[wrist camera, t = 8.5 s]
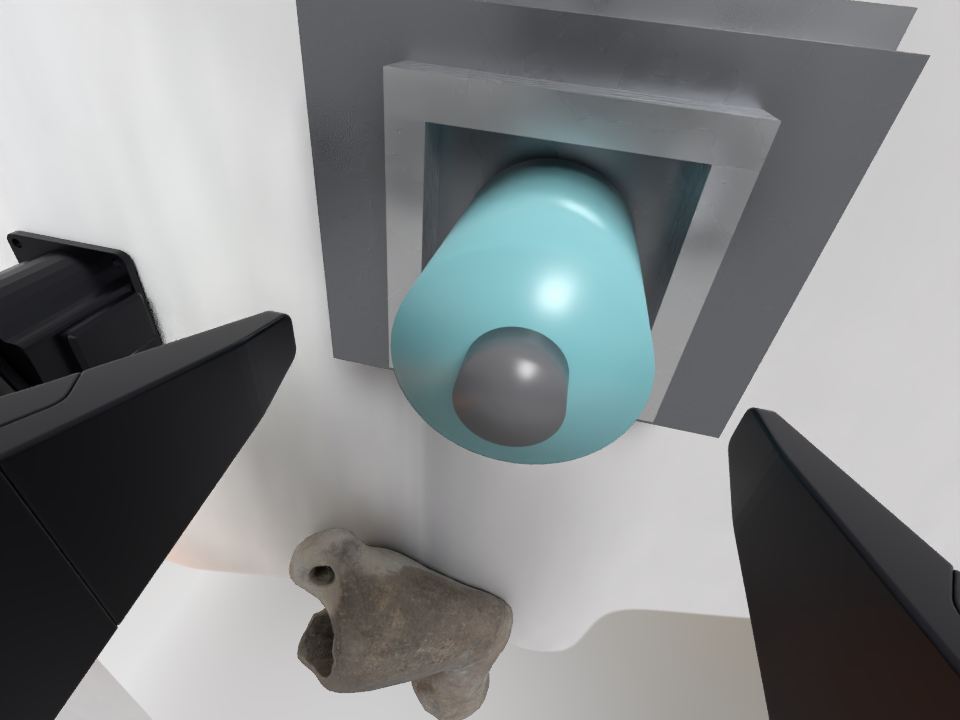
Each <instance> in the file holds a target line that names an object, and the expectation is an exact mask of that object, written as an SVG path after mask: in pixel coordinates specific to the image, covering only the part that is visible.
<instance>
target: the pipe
mask: <svg viewBox="0 0 960 720" xmlns="http://www.w3.org/2000/svg"><path fill="white" fill-rule="evenodd" d="M289 573H290V578H291V579H292V580H293V581H294V583H295V584H296V585H298V586H300V587H301V588H303V589H305V590H306V591H308V592H309V593H311V594H312V595H314V596H315V597H317V598H318V599H319V600H320V601H321V603H322V604H323V605H324V607H325V609H323V610H322V611H320V612H318V613H315V614H314V615H313V616H312V618H311V620H310V622H309V624H308V627H307V629H306V631H305V632H304V634H303V636H302V638H301V641H300V643H299V646H298V652H297V654H298V659H299V660H300V661H301V662H302V663H303V664H304V665H305V666H307V667H308V668H309V669H310V670H311V671H312V672H313V673H314V674H315V675H316V677H317V678H318V680H319V681H320V683H321V684H322V685H323V686H324V687H325V688H326V689H328V690H329V691H334V692H338V693H355V692H365V691H372V690H376V689H380V688H384V687H388V686H392V685H397V684H400V683H405V682H409V681H412V686H413V689H414V691H415V693H416V695H417V697H418V699H419V701H420V703H421V704H422V706H423V707H424V709H425V711H427V712H429V713H430V714H432V715H433V716H435V717H436V718H437V719H438V720H462V719H465V718H467V717H468V716H470V715H472V714H473V713H474V712H475V711H476V710H477V709H479V708H480V706H481V704H482V703H483V701H484V700H485V697H486V694H487V691H488V688H489V671H490V669H491V667H492V665H493V663H494V662H495V661H496V659H497V657H498V656H499V654H500V653H501V652H502V651H503V649H504V648H505V646H506V644H507V642H508V639H509V637H510V633H511V627H512V623H513V613H512V610H511V607H510V606H509V605H508V604H507V603H506V602H505V601H503V600H502V599H500V598H498V597H496V596H494V595H492V594H490V593H487V592H484V591H481V590H478V589H475V588H472V587H469V586H466V585H463V584H461V583H459V582H457V581H455V580H453V579H451V578H449V577H446V576H444V575H441V574H439V573H437V572H435V571H433V570H430V569H428V568H426V567H425V566H423V565H421V564H419V563H418V562H416V561H414V560H412V559H410V558H408V557H406V556H404V555H402V554H400V553H398V552H395V551H393V550H390V549H386V548H380V547H371V546H368V545H365V544H364V543H363V542H362V541H361V540H360V539H359V538H358V537H357V536H356V535H355V534H353V533H352V532H350V531H347V530H344V529H338V528H335V529H328V530H324V531H321V532H318V533H316V534H313V535H311V536H309V537H308V538H306V539H305V540H304V541H303V542H301V543H300V544H299V545H298V546H297V548H296V549H295V551H294V553H293V556H292V559H291V562H290V569H289Z"/></svg>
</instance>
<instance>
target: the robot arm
mask: <svg viewBox="0 0 960 720" xmlns="http://www.w3.org/2000/svg"><path fill="white" fill-rule="evenodd" d="M7 240H8V242H9V244H10V246H11V248H12V250H13V252H14V254H15V256H16V258H17V260H18V262H19V264H17V265H15V266H13V267H10V268H8V269H6V270H4V271H1V272H0V720H54V719H55V718H56V716H57V715H58V713H59V712H60V711H61V709H62V708H63V706H64V705H65V703H66V702H67V700H68V699H69V698H70V696H71V695H72V693H73V692H74V690H75V689H76V687H77V686H78V685H79V683H80V682H81V680H82V679H83V677H84V676H85V674H86V673H87V672H88V670H89V669H90V667H91V666H92V664H93V663H94V661H95V660H96V659H97V657H98V656H99V654H100V653H101V651H102V650H103V648H104V647H105V646H106V644H107V643H108V641H109V640H110V638H111V637H112V635H113V634H114V632H115V631H116V629H117V628H118V627H117V625H119V624H120V623H121V622H122V620H123V619H124V617H125V616H126V615H127V613H128V612H129V610H130V609H131V607H132V605H133V604H134V603H135V601H136V600H137V598H138V597H139V596H140V594H141V593H142V591H143V590H144V588H145V587H146V585H147V584H148V582H149V581H150V580H151V578H152V577H153V575H154V574H155V572H156V571H157V570H158V568H159V567H160V565H161V564H162V562H163V561H164V560H165V558H166V557H167V555H168V554H169V552H170V551H171V549H172V548H173V546H174V545H175V544H176V542H177V541H178V539H179V538H180V536H181V535H182V533H183V532H184V531H185V529H186V528H187V526H188V525H189V523H190V522H191V520H192V519H193V518H194V516H195V515H196V513H197V512H198V510H199V509H200V507H201V506H202V505H203V503H204V502H205V500H206V499H207V497H208V496H209V494H210V493H211V491H212V490H213V489H214V487H215V486H216V484H217V483H218V481H219V480H220V478H221V477H222V476H223V474H224V473H225V471H226V470H227V468H228V467H229V465H230V464H231V463H232V461H233V460H234V458H235V457H236V455H237V454H238V452H239V451H240V449H241V448H242V447H243V445H244V444H245V442H246V441H247V439H248V438H249V436H250V435H251V434H252V432H253V431H254V429H255V428H256V426H257V425H258V423H259V422H260V420H261V419H262V417H263V415H264V414H265V412H266V410H267V409H268V407H269V405H270V403H271V401H272V399H273V397H274V395H275V394H276V392H277V390H278V388H279V386H280V384H281V382H282V380H283V379H284V377H285V375H286V373H287V371H288V369H289V367H290V365H291V364H292V362H293V360H294V357H295V354H296V344H295V338H294V332H293V326H292V321H291V318H290V317H289V316H288V315H287V314H284V313H279V312H274V311H266V312H263V313H260V314H257V315H254V316H251V317H248V318H245V319H241V320H238V321H235V322H232V323H229V324H226V325H223V326H220V327H217V328H214V329H211V330H208V331H205V332H201V333H198V334H195V335H192V336H189V337H186V338H183V339H180V340H177V341H174V342H171V343H168V344H165V345H162V343H161V340H160V337H159V334H158V332H157V329H156V326H155V323H154V320H153V318H152V315H151V312H150V309H149V307H148V304H147V301H146V298H145V296H144V293H143V290H142V287H141V284H140V282H139V279H138V276H137V273H136V271H135V268H134V265H133V262H132V260H131V258H130V257H129V256H128V255H127V254H126V253H125V252H123V251H121V250H117V249H112V248H106V247H101V246H96V245H91V244H86V243H80V242H75V241H70V240H65V239H60V238H54V237H49V236H44V235H39V234H34V233H29V232H23V231H15V232H13V233H10V234H8V235H7ZM728 456H729V473H730V490H731V507H732V519H733V527H734V533H735V539H736V544H737V550H738V555H739V560H740V566H741V571H742V576H743V582H744V587H745V592H746V598H747V603H748V608H749V614H750V619H751V624H752V629H753V635H754V640H755V646H756V651H757V656H758V662H759V667H760V672H761V678H762V683H763V688H764V693H765V698H766V704H767V710H768V715H769V720H960V571H958V570H953V566H952V565H951V564H950V563H949V562H948V561H947V560H945V559H944V558H943V557H942V556H941V555H940V554H939V553H937V552H936V551H935V550H934V549H933V548H932V547H930V546H929V545H928V544H927V543H926V542H925V541H924V540H922V539H921V538H920V537H919V536H918V535H917V534H915V533H914V532H913V531H912V530H911V529H910V528H909V527H907V526H906V525H905V524H904V523H903V522H902V521H900V520H899V519H898V518H897V517H896V516H895V515H894V514H892V513H891V512H890V511H889V510H888V509H887V508H885V507H884V506H883V505H882V504H881V503H880V502H879V501H877V500H876V499H875V498H874V497H873V496H872V495H870V494H869V493H868V492H867V491H866V490H865V489H864V488H862V487H861V486H860V485H859V484H858V483H857V482H855V481H854V480H853V479H852V478H851V477H850V476H849V475H847V474H846V473H845V472H844V471H843V470H842V469H840V468H839V467H838V466H837V465H836V464H835V463H833V462H832V461H831V460H830V459H829V458H828V457H827V456H825V455H824V454H823V453H822V452H821V451H820V450H818V449H817V448H816V447H815V446H814V445H813V444H812V443H810V442H809V441H808V440H807V439H806V438H805V437H803V436H802V435H801V434H800V433H799V432H798V431H797V430H795V429H794V428H793V427H792V426H791V425H790V424H788V423H787V422H786V421H785V420H784V419H783V418H782V417H780V416H779V415H778V414H777V413H776V412H773V411H769V410H764V409H759V408H750V409H748V410H747V411H746V413H745V414H744V416H743V418H742V419H741V421H740V423H739V425H738V426H737V428H736V430H735V431H734V433H733V435H732V437H731V439H730V442H729V446H728Z"/></svg>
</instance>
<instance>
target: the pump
mask: <svg viewBox="0 0 960 720" xmlns="http://www.w3.org/2000/svg"><path fill="white" fill-rule="evenodd" d="M390 347H391V358H392V363H393V368H394V372H395V375H396V377H397V380H398V383H399V385H400V387H401V389H402V391H403V393H404V395H405V396H406V398H407V400H408V401H409V402H410V404H411V405H412V407H413V408H414V409H415V410H416V412H417V413H418V414H419V415H420V416H421V417H422V418H423V419H424V420H425V421H426V422H427V423H428V424H429V425H430V426H431V427H432V428H434V429H435V430H436V431H437V432H439V433H440V434H441V435H443V436H444V437H446V438H447V439H449V440H450V441H452V442H454V443H456V444H457V445H459V446H461V447H463V448H465V449H467V450H469V451H472V452H474V453H477V454H480V455H482V456H485V457H489V458H492V459H496V460H500V461H505V462H511V463H519V464H551V463H560V462H565V461H570V460H574V459H577V458H580V457H584V456H587V455H589V454H591V453H594V452H596V451H598V450H600V449H602V448H604V447H605V446H607V445H609V444H610V443H612V442H614V441H615V440H616V439H617V438H619V437H620V436H621V435H622V434H624V433H625V432H626V431H627V430H628V429H629V428H630V427H631V426H632V425H633V423H634V422H635V421H636V419H637V418H638V417H639V415H640V414H641V412H642V411H643V409H644V407H645V405H646V403H647V401H648V399H649V396H650V393H651V390H652V386H653V381H654V373H655V359H654V349H653V343H652V337H651V330H650V324H649V317H648V311H647V304H646V298H645V291H644V285H643V278H642V272H641V266H640V259H639V253H638V246H637V240H636V233H635V228H634V223H633V219H632V216H631V213H630V211H629V208H628V206H627V205H626V203H625V201H624V199H623V198H622V196H621V195H620V194H619V192H618V191H617V189H616V188H615V187H614V186H613V185H612V184H611V183H610V182H609V181H608V180H606V179H605V178H604V177H602V176H601V175H600V174H598V173H597V172H595V171H593V170H592V169H590V168H588V167H586V166H583V165H581V164H578V163H575V162H571V161H567V160H563V159H551V158H547V159H534V160H529V161H524V162H521V163H518V164H515V165H513V166H511V167H509V168H507V169H505V170H503V171H501V172H500V173H498V174H497V175H495V176H494V177H492V178H491V179H490V180H489V181H488V182H487V183H486V184H485V185H484V186H483V187H482V188H481V189H480V190H479V192H478V193H477V194H476V195H475V197H474V198H473V200H472V201H471V202H470V204H469V205H468V207H467V208H466V210H465V211H464V213H463V214H462V215H461V217H460V218H459V220H458V221H457V223H456V224H455V225H454V227H453V228H452V230H451V231H450V233H449V234H448V236H447V237H446V238H445V240H444V241H443V243H442V244H441V246H440V247H439V249H438V250H437V251H436V253H435V254H434V256H433V257H432V259H431V260H430V261H429V263H428V264H427V266H426V267H425V269H424V270H423V272H422V273H421V274H420V276H419V277H418V279H417V280H416V282H415V283H414V284H413V286H412V287H411V289H410V290H409V292H408V293H407V295H406V296H405V298H404V300H403V301H402V303H401V305H400V306H399V309H398V311H397V314H396V316H395V319H394V323H393V327H392V332H391V345H390Z"/></svg>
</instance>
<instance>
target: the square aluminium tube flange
mask: <svg viewBox="0 0 960 720" xmlns="http://www.w3.org/2000/svg"><path fill="white" fill-rule="evenodd" d="M296 6H297V15H298V24H299V34H300V43H301V53H302V62H303V72H304V81H305V91H306V100H307V110H308V119H309V129H310V138H311V147H312V157H313V166H314V176H315V185H316V195H317V204H318V214H319V223H320V233H321V242H322V251H323V261H324V270H325V280H326V289H327V299H328V308H329V318H330V327H331V337H332V346H333V356H334V358H337V359H342V360H347V361H351V362H356V363H361V364H366V365H371V366H375V367H380V368H385V369H390V370H394V368H393V363H392V358H391V347H390V345H391V332H392V327H393V323H394V319H395V316H396V314H397V311H398V309H399V306H400V305H401V303H402V301H403V300H404V298H405V296H406V295H407V293H408V292H409V290H410V289H411V287H412V286H413V284H414V283H415V282H416V280H417V279H418V277H419V276H420V274H421V273H422V272H423V270H424V269H425V267H426V266H427V264H428V263H429V261H430V260H431V259H432V257H433V256H434V254H435V253H436V251H437V250H438V249H439V247H440V246H441V244H442V243H443V241H444V240H445V238H446V237H447V236H448V234H449V233H450V231H451V230H452V228H453V227H454V225H455V224H456V223H457V221H458V220H459V218H460V217H461V215H462V214H463V213H464V211H465V210H466V208H467V207H468V205H469V204H470V202H471V201H472V200H473V198H474V197H475V195H476V194H477V193H478V192H479V190H480V189H481V188H482V187H483V186H484V185H485V184H486V183H487V182H488V181H489V180H490V179H491V178H492V177H494V176H495V175H497V174H498V173H500V172H501V171H503V170H505V169H507V168H509V167H511V166H513V165H515V164H518V163H521V162H524V161H529V160H534V159H547V158H551V159H563V160H567V161H571V162H575V163H578V164H581V165H583V166H586V167H588V168H590V169H592V170H593V171H595V172H597V173H598V174H600V175H601V176H602V177H604V178H605V179H606V180H608V181H609V182H610V183H611V184H612V185H613V186H614V187H615V188H616V189H617V191H618V192H619V194H620V195H621V196H622V198H623V199H624V201H625V203H626V205H627V206H628V208H629V211H630V213H631V216H632V219H633V223H634V228H635V233H636V240H637V246H638V253H639V259H640V266H641V272H642V278H643V285H644V291H645V298H646V304H647V311H648V317H649V324H650V330H651V337H652V343H653V349H654V359H655V373H654V381H653V386H652V390H651V393H650V396H649V399H648V401H647V403H646V405H645V407H644V409H643V411H642V412H641V414H640V415H639V417H638V418H637V419H636V421H640V422H644V423H649V424H654V425H659V426H664V427H668V428H673V429H678V430H683V431H688V432H692V433H697V434H702V435H707V436H712V437H716V438H719V437H720V435H721V433H722V431H723V430H724V428H725V426H726V424H727V422H728V420H729V419H730V417H731V415H732V413H733V411H734V410H735V408H736V406H737V404H738V402H739V401H740V399H741V397H742V395H743V393H744V392H745V390H746V388H747V386H748V384H749V383H750V381H751V379H752V377H753V375H754V373H755V372H756V370H757V368H758V366H759V364H760V363H761V361H762V359H763V357H764V355H765V354H766V352H767V350H768V348H769V346H770V345H771V343H772V341H773V339H774V337H775V336H776V334H777V332H778V330H779V328H780V326H781V325H782V323H783V321H784V319H785V317H786V316H787V314H788V312H789V310H790V308H791V307H792V305H793V303H794V301H795V299H796V298H797V296H798V294H799V292H800V290H801V289H802V287H803V285H804V283H805V281H806V279H807V278H808V276H809V274H810V272H811V270H812V269H813V267H814V265H815V263H816V261H817V260H818V258H819V256H820V254H821V252H822V251H823V249H824V247H825V245H826V243H827V242H828V240H829V238H830V236H831V234H832V233H833V231H834V229H835V227H836V225H837V223H838V222H839V220H840V218H841V216H842V214H843V213H844V211H845V209H846V207H847V205H848V204H849V202H850V200H851V198H852V196H853V195H854V193H855V191H856V189H857V187H858V186H859V184H860V182H861V180H862V178H863V176H864V175H865V173H866V171H867V169H868V167H869V166H870V164H871V162H872V160H873V158H874V157H875V155H876V153H877V151H878V149H879V148H880V146H881V144H882V142H883V140H884V139H885V137H886V135H887V133H888V131H889V129H890V128H891V126H892V124H893V122H894V120H895V119H896V117H897V115H898V113H899V111H900V110H901V108H902V106H903V104H904V102H905V101H906V99H907V97H908V95H909V93H910V92H911V90H912V88H913V86H914V84H915V83H916V81H917V79H918V77H919V75H920V73H921V72H922V70H923V68H924V66H925V64H926V63H927V61H928V59H929V57H930V55H923V54H916V53H909V52H902V51H896V49H897V47H898V45H899V43H900V41H901V39H902V37H903V35H904V33H905V32H906V30H907V28H908V26H909V24H910V22H911V20H912V18H913V16H914V14H915V12H916V10H917V8H914V7H905V6H896V5H887V4H878V3H869V2H860V1H851V0H296Z"/></svg>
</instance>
